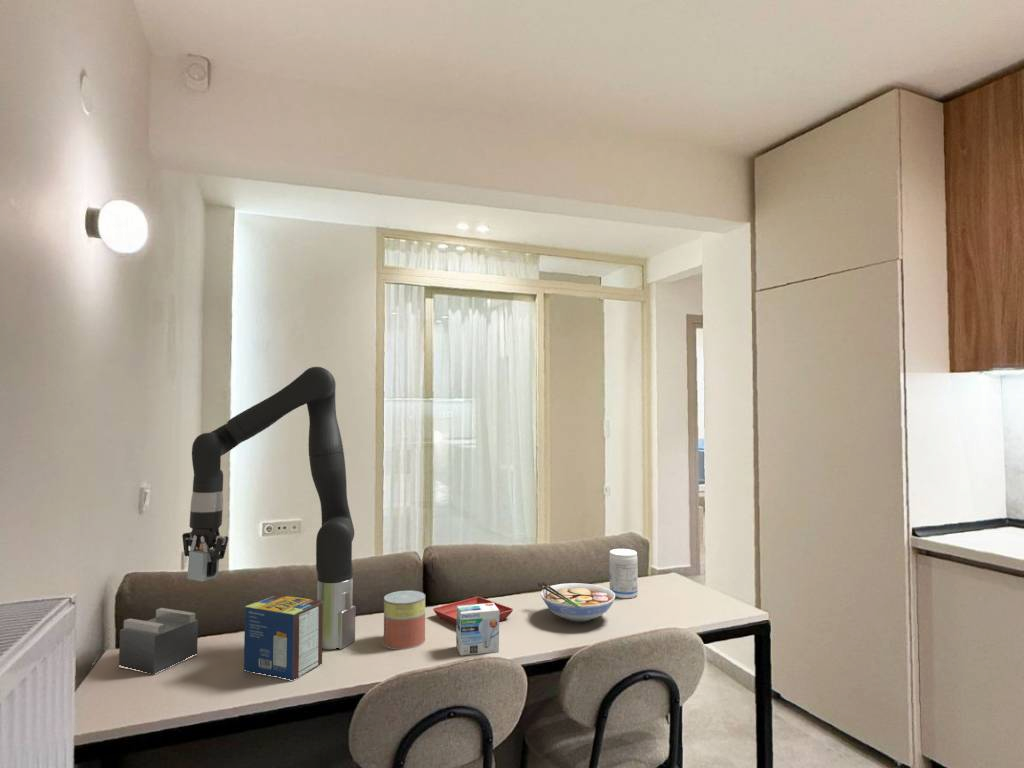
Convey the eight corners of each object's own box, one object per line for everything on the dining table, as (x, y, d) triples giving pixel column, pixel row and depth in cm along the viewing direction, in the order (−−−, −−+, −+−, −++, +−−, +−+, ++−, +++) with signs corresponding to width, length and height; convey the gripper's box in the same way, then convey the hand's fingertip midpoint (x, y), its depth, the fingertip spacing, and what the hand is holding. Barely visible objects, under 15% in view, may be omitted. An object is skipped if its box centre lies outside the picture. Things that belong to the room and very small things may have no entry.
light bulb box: (459, 656, 148) (460, 613, 149) (455, 646, 154) (455, 605, 155) (500, 652, 151) (500, 609, 151) (494, 642, 157) (494, 601, 158)
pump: (218, 576, 152) (220, 541, 153) (201, 581, 147) (203, 545, 148) (204, 574, 154) (206, 540, 154) (187, 579, 149) (189, 543, 150)
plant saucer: (431, 618, 177) (431, 607, 177) (478, 605, 189) (478, 595, 189) (466, 635, 163) (466, 623, 164) (514, 620, 175) (514, 609, 175)
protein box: (274, 655, 149) (275, 593, 150) (322, 664, 144) (323, 600, 145) (242, 671, 140) (243, 606, 140) (292, 682, 134) (293, 613, 135)
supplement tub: (608, 590, 204) (608, 548, 205) (636, 591, 203) (635, 548, 204) (610, 598, 194) (610, 554, 195) (639, 599, 193) (638, 555, 194)
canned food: (431, 635, 162) (432, 592, 163) (414, 651, 151) (414, 604, 152) (395, 631, 165) (395, 589, 166) (375, 647, 154) (376, 601, 155)
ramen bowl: (633, 626, 168) (632, 598, 169) (562, 638, 160) (562, 607, 160) (590, 601, 192) (590, 576, 192) (527, 610, 183) (527, 584, 184)
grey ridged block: (197, 655, 149) (198, 611, 150) (153, 675, 138) (155, 627, 138) (163, 649, 153) (164, 606, 154) (118, 667, 142) (120, 621, 143)
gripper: (238, 509, 153) (235, 574, 152) (199, 504, 158) (195, 568, 157) (215, 513, 146) (211, 581, 145) (174, 508, 151) (170, 574, 150)
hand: (202, 574), depth 151 cm, fingers closed on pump, 5 cm apart
